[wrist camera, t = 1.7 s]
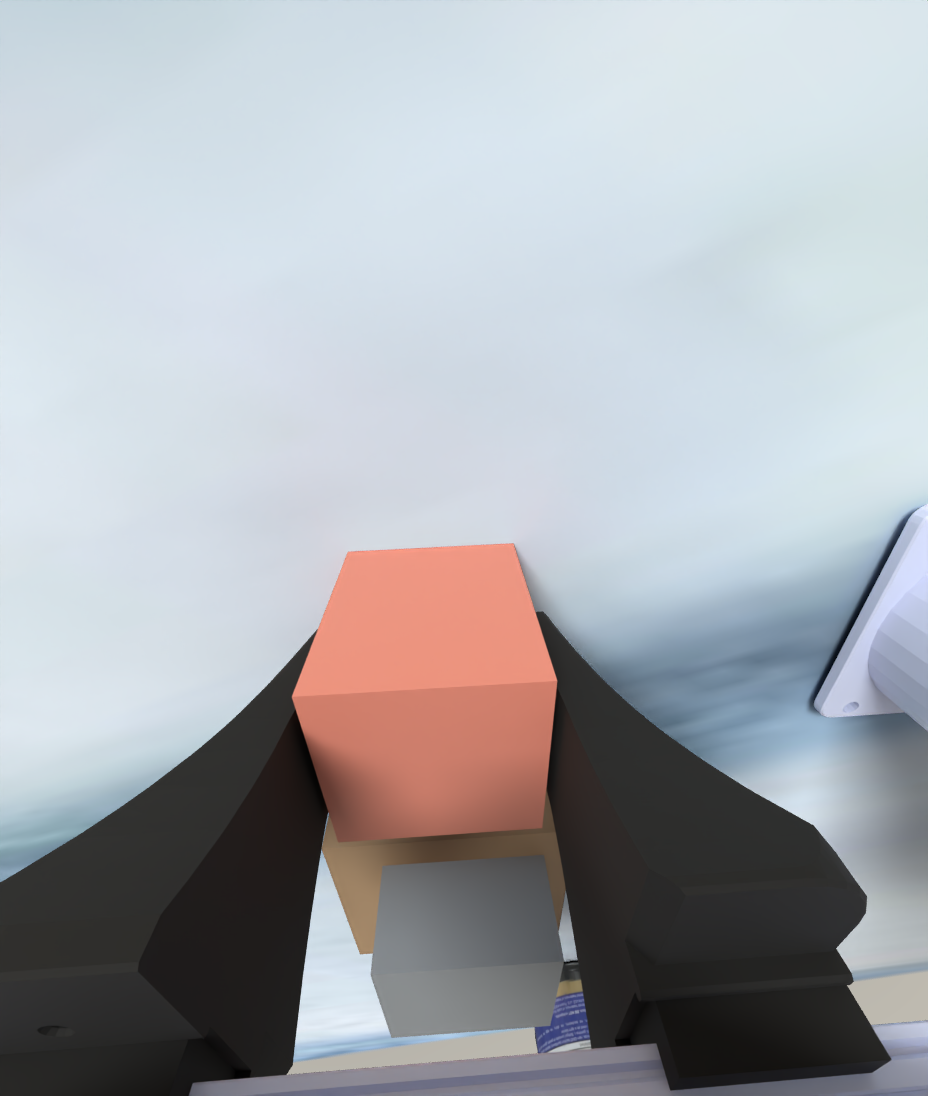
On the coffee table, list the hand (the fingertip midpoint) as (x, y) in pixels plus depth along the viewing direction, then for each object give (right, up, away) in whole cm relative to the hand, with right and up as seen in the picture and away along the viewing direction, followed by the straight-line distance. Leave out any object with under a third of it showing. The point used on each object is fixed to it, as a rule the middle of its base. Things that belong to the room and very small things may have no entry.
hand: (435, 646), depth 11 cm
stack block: (0, +1, +1) cm, 1 cm away
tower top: (+1, -12, +6) cm, 13 cm away
